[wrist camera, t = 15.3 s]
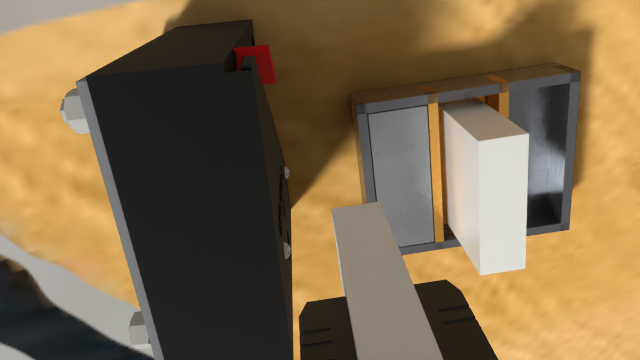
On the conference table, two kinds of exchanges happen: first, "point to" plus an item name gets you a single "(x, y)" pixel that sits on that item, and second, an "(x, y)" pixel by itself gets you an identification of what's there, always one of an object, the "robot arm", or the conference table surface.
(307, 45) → the conference table surface
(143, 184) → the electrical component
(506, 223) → the white rectangular block
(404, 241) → the rack
